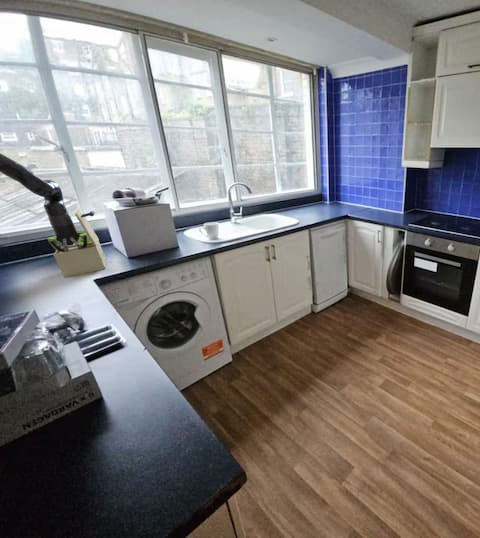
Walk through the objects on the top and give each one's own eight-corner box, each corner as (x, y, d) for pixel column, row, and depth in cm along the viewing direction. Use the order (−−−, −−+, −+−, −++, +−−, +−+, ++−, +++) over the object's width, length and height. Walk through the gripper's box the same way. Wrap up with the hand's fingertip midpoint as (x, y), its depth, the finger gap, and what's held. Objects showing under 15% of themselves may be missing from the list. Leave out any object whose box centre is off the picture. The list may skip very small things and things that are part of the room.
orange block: (74, 267, 145) (66, 250, 142) (75, 264, 149) (68, 248, 145) (85, 265, 148) (78, 248, 144) (86, 262, 151) (79, 246, 147)
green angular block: (101, 251, 175) (92, 231, 170) (77, 260, 162) (67, 238, 157) (81, 251, 177) (72, 231, 172) (56, 260, 164) (45, 238, 159)
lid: (74, 214, 136) (90, 210, 139) (78, 210, 147) (92, 206, 149) (94, 246, 144) (109, 242, 147) (97, 240, 154) (110, 236, 157)
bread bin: (64, 277, 141) (53, 254, 136) (68, 268, 151) (58, 247, 146) (105, 268, 149) (96, 247, 144) (107, 261, 159) (98, 240, 155)
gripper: (82, 219, 146) (96, 252, 153) (43, 224, 139) (59, 258, 146) (80, 222, 141) (94, 255, 147) (39, 228, 133) (56, 262, 140)
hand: (77, 257), depth 146 cm, fingers closed on orange block, 4 cm apart
